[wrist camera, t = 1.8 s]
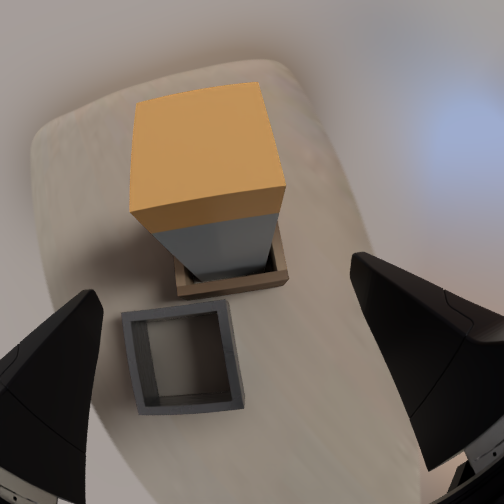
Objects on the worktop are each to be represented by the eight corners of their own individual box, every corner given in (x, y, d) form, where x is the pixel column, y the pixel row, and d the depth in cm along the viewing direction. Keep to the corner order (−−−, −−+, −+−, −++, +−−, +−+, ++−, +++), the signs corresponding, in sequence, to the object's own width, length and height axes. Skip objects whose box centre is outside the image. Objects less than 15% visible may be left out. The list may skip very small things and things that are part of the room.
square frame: (283, 285, 20) (288, 278, 17) (187, 300, 20) (177, 296, 17) (266, 198, 22) (268, 179, 19) (178, 211, 21) (169, 195, 18)
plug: (263, 272, 20) (286, 185, 8) (202, 281, 20) (129, 212, 7) (253, 214, 21) (258, 81, 9) (195, 223, 21) (136, 103, 9)
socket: (244, 396, 18) (244, 408, 15) (153, 403, 18) (138, 415, 15) (228, 303, 20) (225, 299, 17) (138, 314, 19) (121, 312, 16)
